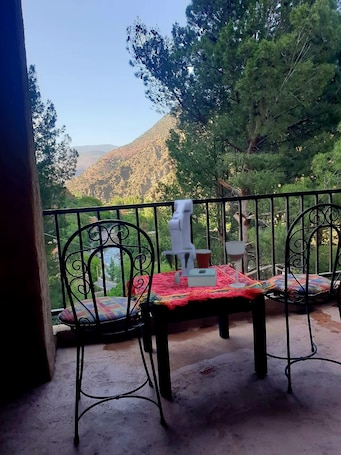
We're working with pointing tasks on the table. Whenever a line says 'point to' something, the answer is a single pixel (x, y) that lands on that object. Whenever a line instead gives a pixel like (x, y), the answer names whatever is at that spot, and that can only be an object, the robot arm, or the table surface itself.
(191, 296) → the table surface
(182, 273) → the robot arm
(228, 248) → the wineglass
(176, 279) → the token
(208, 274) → the coin box
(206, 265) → the plastic cup
